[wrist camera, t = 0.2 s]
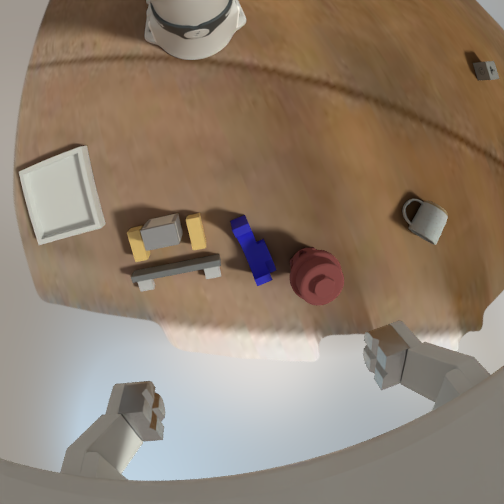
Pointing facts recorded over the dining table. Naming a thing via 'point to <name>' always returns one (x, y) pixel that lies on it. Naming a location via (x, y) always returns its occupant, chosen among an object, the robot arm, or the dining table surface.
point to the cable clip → (253, 251)
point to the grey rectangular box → (162, 232)
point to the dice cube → (486, 70)
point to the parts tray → (62, 196)
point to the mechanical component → (316, 276)
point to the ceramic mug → (427, 220)
